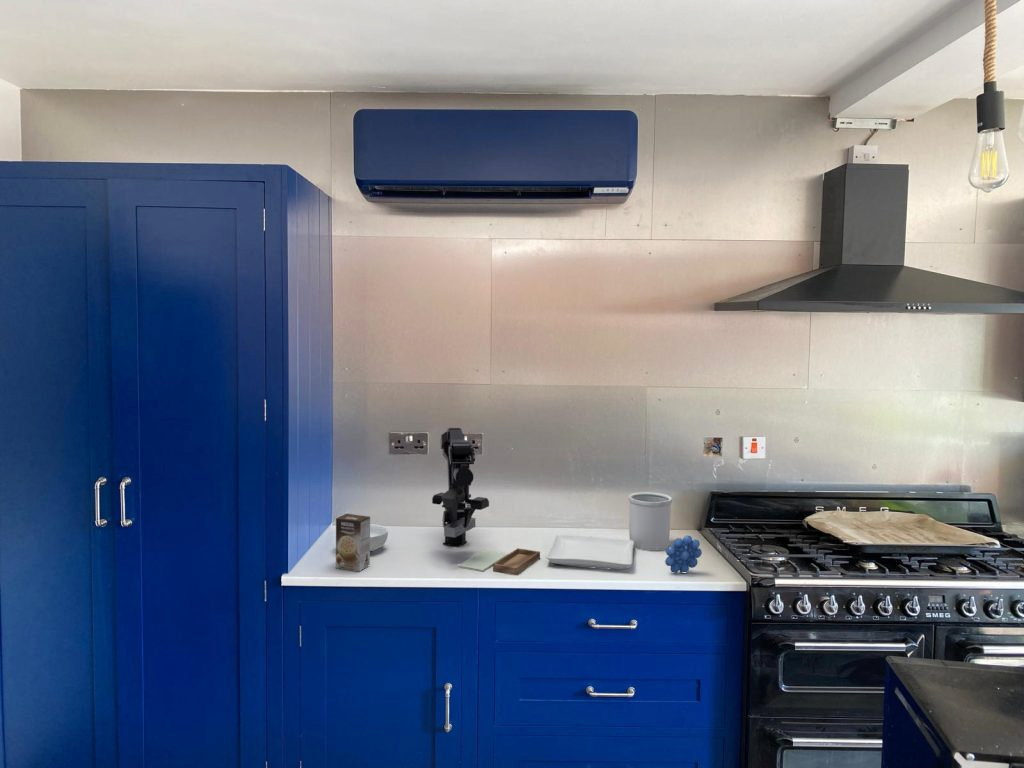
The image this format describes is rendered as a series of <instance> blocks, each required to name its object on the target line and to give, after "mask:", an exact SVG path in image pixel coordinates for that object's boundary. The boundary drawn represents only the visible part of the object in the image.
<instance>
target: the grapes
mask: <svg viewBox="0 0 1024 768" xmlns="http://www.w3.org/2000/svg"><path fill="white" fill-rule="evenodd" d="M700 544H701V543H700V540H699V539H693V537H692V536H691V535H685V536H684V537H683V538H678V537H677V538H675V539H674V541H673V542H672V545H673V546H671V545H669V547H668V548H667V549H666V556H667V557H666V558H665V560H664V564H665V565H666V566H667V567H670V571H671V573H672V572H676V573H678V572H680V573H681V572H687V571H688V572H689V570H690V568H695V567H697V565H698V563H699V562H698V561H699V560H698V559H699V558H700V557H701V556H702V552H703V551H702V549H701V548H699V547H700ZM688 572H687V573H688Z"/></svg>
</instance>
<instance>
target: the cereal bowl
mask: <svg viewBox="0 0 1024 768" xmlns="http://www.w3.org/2000/svg"><path fill="white" fill-rule="evenodd" d="M388 533H389V531H388V528H387V526H383V525H380V524H376V523H375V524H374V523H370V551H373V550H374V551H376V550H378V549H380V548H382V547H383V546H384V545H385V543H386V542H387V539H388V535H389V534H388ZM374 551H373V552H374Z"/></svg>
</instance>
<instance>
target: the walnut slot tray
mask: <svg viewBox="0 0 1024 768" xmlns="http://www.w3.org/2000/svg"><path fill="white" fill-rule="evenodd" d="M539 559H541V551H538V550H537V551H536V550H533V549H532V550H530V549H525V548H515V549H514V550H513V551H511V552H509V553H508V555H506V556H505V557H503V558H502V559H500V560H499V561H497V562H496V563H494V564H493V566H492V572H495V573H501V574H502V573H503V574H508V575H512V576H513V575H514V576H518V575H519V574H521V573H522V572H524V571H525V570H526V569H528V568H529V567H530V566H532V565H533V564H534V563H536V562H537V561H538V560H539Z"/></svg>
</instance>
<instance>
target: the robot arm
mask: <svg viewBox="0 0 1024 768" xmlns="http://www.w3.org/2000/svg"><path fill="white" fill-rule="evenodd" d="M462 431H463V429H462V428H460V427H449V428H447V430H446V431H445V432H444V433H443V434H441V437H440V449H441V450H442V456H443V457H444V459H445V460H446V461H447V462H446V463H447V464H446V466H447V483H448V487H447V488H448V490H446V491H445V492H438V493H436V494H433V496H432V498H431V503H432V504H433V505H441V504H442V505H441V508H444V511H443V514H442V527H443V529H444V526H447V525H449V524H451V523H453V522H455V521H457V520H459V519H461V518H463V517H465V521H464V525H465V528H466V527H467V526H468V524H469V522H470V519H471V518H473V514H474V513H475V511H477V510H478V511H479V510H480V511H481V510H483V509H486V508H489V507H490V500H489V499H488V497H481V496H477V497H475V498H472V494H470V486H471V485H472V482H473V481H474V473H473V472H472V470H471V468H470V465H474V464H475V462H476V454H475V449H474V446H473V445H472V444H471V442H470V441H469V440H466V439H465V434H464V433H463V432H462ZM466 533H467V531H466V532H464V533H463V534H461V535H459V536H457V537H448V536H444V541H443V542H442V545H444V546H451V547H456V548H457V547H459V548H460V546H463V545H465V544H466V543H468V541H467V539H466V537H467V534H466Z"/></svg>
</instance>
